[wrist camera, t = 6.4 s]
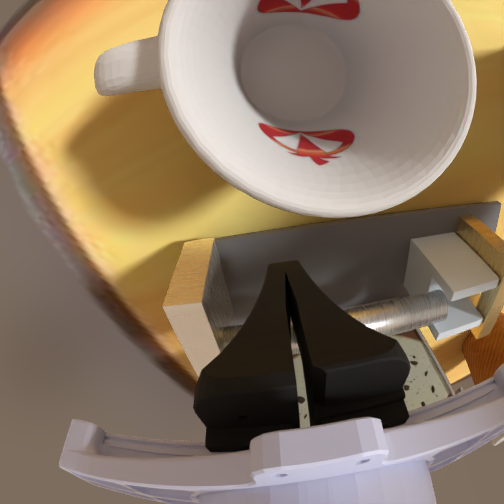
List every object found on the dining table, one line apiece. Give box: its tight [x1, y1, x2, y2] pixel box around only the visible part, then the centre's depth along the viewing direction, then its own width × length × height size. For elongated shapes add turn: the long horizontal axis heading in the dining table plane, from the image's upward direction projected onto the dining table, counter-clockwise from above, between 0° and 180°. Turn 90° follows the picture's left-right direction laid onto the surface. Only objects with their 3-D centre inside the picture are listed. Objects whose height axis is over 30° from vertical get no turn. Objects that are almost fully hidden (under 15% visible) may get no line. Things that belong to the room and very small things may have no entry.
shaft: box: [162, 237, 449, 378], centre depth 14 cm, size 6×13×5 cm, turn 99°
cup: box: [94, 0, 477, 218], centre depth 8 cm, size 11×8×8 cm
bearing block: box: [404, 232, 499, 341], centre depth 14 cm, size 4×4×6 cm
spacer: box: [455, 214, 504, 340], centre depth 14 cm, size 6×1×5 cm, turn 9°
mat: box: [214, 201, 501, 325], centre depth 17 cm, size 7×21×1 cm, turn 99°
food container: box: [290, 297, 463, 428], centre depth 16 cm, size 12×6×10 cm, turn 100°
